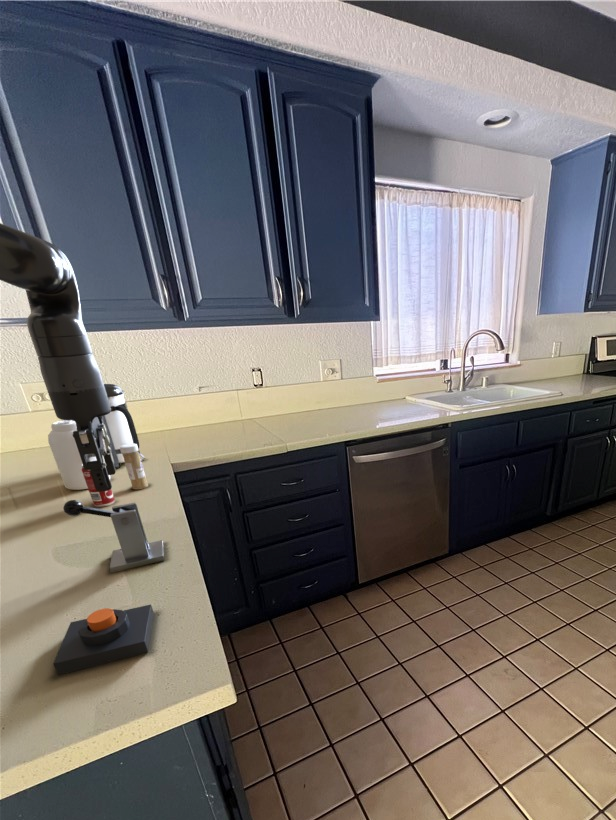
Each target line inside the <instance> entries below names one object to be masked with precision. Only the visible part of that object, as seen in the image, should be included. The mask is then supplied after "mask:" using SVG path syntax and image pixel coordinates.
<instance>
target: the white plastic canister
mask: <svg viewBox="0 0 616 820" xmlns="http://www.w3.org/2000/svg"><path fill="white" fill-rule="evenodd" d="M50 428H51V431H50V432H49V433H48V434H47V441H48V445H49V448H50V451H51V453H52V456H53V458H54V461H55V464H56V466H57V469H58V472H59V474H60V477H61V480H62V482H63V486H64V487H65V488H66V489H68V490H72V491H78V490H79V491H82V490H88V487H87V484H86V481H85V478H84V475H83V472H82V464H83V463H82V460H81V457H80V454H79V451H78V448H77V445H76V442H75V439H74V437H73V432H74V431H76V430H77V429H76V428H77V427H76V422H75V421H73V420H58V421H55V422H52V423H51V427H50ZM90 461H97V459H96V457H91V458H90ZM108 476H109V479H110V480H111V475H108Z"/></svg>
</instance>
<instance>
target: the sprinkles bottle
mask: <svg viewBox="0 0 616 820" xmlns="http://www.w3.org/2000/svg"><path fill="white" fill-rule="evenodd" d="M120 450H121V453H122V454H123V458H124V461H125V462H124V466H125V468H126V472H127V475H128V478H129V480H130V483H131V488H132V489H133V490H143V489H146V488H147V487H149V483H148V481H147V477H146V472H145V469H144V465H143V463H142V462H143V461H141V459H142V458H141V456H140V454H139V453H138V446H137V444H134V443H131V444H125V445H122V446H120Z"/></svg>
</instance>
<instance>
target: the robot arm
mask: <svg viewBox="0 0 616 820" xmlns="http://www.w3.org/2000/svg"><path fill="white" fill-rule="evenodd" d="M0 281H1V282H3V283H6V284H9V285H12V286H14V287H16V288H19V289H22V290H25V294H26V297H27V301H28V305H29V309H30V314H29V315H28V316H27V319H26V326H27V330H28V333H29V334H28V335H29V337H30V339H31V342H32V345H33V348H34V350H35V354H36V356H37V360H38V364H39V369H40V370H39V371H40V373H41V376H42V377H41V378H42V380H43V383H44V386H45V388H46V390H47V393H48V397H49V399H50V402H51V405H52V408H53V411H54V414H55V416H56V418H57V419H59V420H60V421H62V420H73V421H75V422H76V427H77V428H76V429H77V430H76V431H74V432H73V437H74V439H75V442H76V445H77V448H78V451H79V454H80V457H81V460H82V463H83V468H84V469H85V470H88V471H89V470H90V474H91V476H92V479H93V482H94V485H95V488H96V490H97V491H98V492H102V491H108V490H112V488H113V486H112V485H113V484H112V481H111V478H110V479H109V476H108V475H110V476H113V475H115V474H116V473H117V469H116V468H115V465H114V463H113V460H112V457H111V454H108V453H111V448H110V447H111V443H110V441H109V437H108V435H107V431H106V427H105V425H104V423H103V417H102V416H105V415H107V414H109V413H110V412H111V407H110V403H109V400H108V397H107V393H106V390H105V387H104V384H105V383H104V380H103V377H102V374H101V370H100V367H99V365H98V363H97V361H96V358H95V356H94V354H93V349H92V347H91V343H90V340H89V336H88V334H87V333H88V332H87V331H86V327H85V325H84V322H83V315H82V306H81V300H80V299H81V298H80V292H79V287H78V282H77V278H76V275H75V271H74V268H73V266H72V264H71V262H70V260H69V259H68V257H67V255H66V254H65V253H64V252H63V251H62V250H61V249H60V248H59V247H58V246H56V245H55V244H53V243H51V242H49V241H47V240H45V239H43V238H40V237H37V236H35V235H33V234H30V233H27V232H25V231H22V230H20V229H18V228H14V227H11V226H10V225H6V224H3V223H1V222H0ZM91 457H96V459H97V461H90V458H91Z"/></svg>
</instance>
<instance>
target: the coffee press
mask: <svg viewBox="0 0 616 820" xmlns="http://www.w3.org/2000/svg"><path fill="white" fill-rule="evenodd" d="M104 387H105V390H106V393H107V397H108V400H109V403H110V407H111V412H110V413H109V414H107V415H105V416H102V417H103V423H104V425H105V427H106V431H107V435H108V437H109V441H110V443H111V447H110V448H111V453H108V454H111V457H112V460H113V464H114V467H115V470H117V469H121V464H122V463H125V461H124V458H123V454H122V453H121V450H120V446H122V445H125V444H131V443H134V444H137V446H138V453H139V456H140V457H142V458H143V459H142V458H140V459H141V462H144V461H145V460H146V457H145V455H143V454H142V453H141V452H140V440H139V438H138V433H137V429H136V426H135V422H134V420H133V417H132V415H131V413H130V412H129V409H128V405H127V402H126V400H125V397H124V395H125V394H124V393H125V392H124V390H122V388H121V387H120V386H119V385H118V384H114V383H104Z"/></svg>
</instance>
